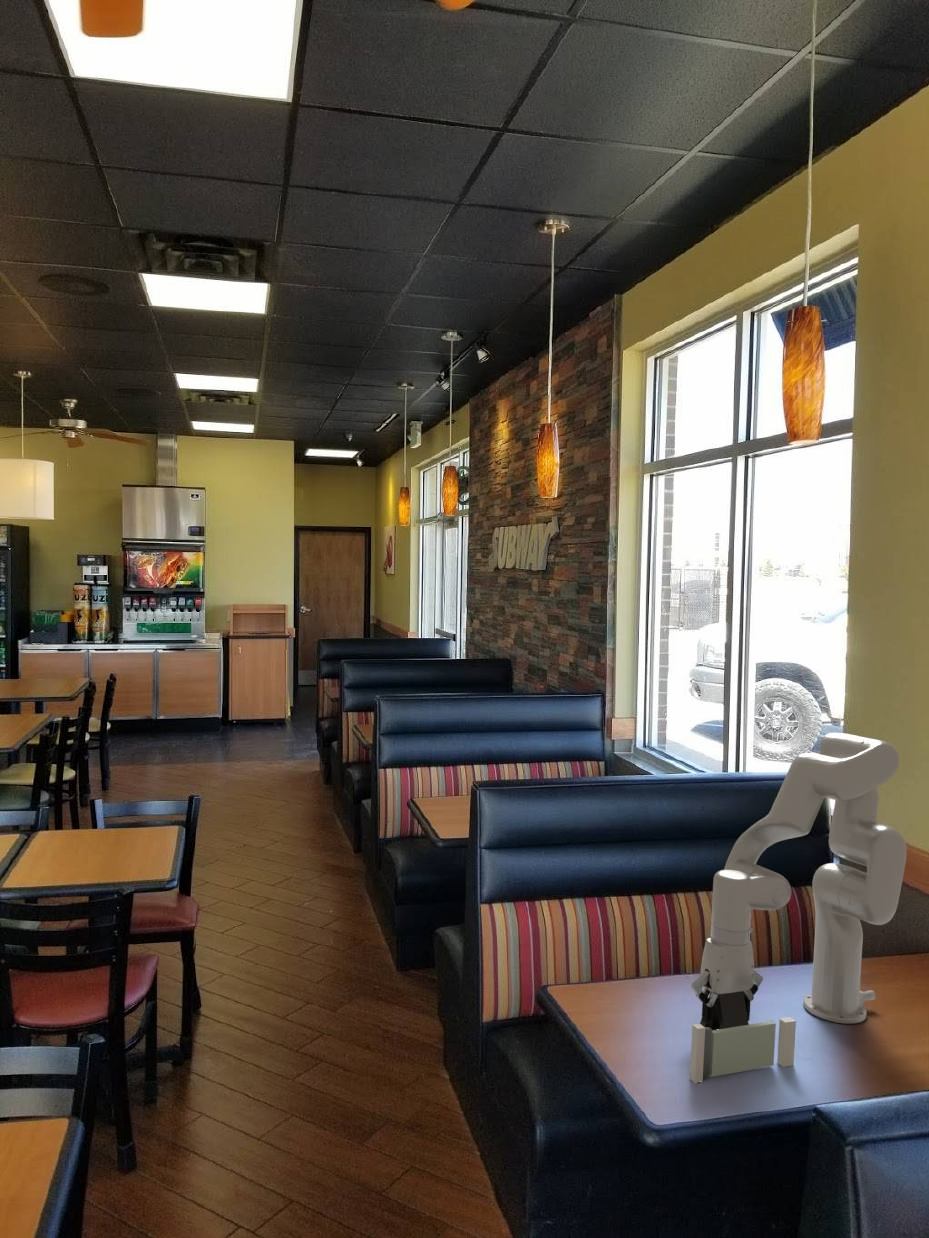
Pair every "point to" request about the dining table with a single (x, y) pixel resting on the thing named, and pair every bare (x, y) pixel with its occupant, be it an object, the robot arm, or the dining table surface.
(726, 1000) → the phone stand
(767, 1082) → the dining table surface
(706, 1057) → the door
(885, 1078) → the dining table surface
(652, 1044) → the dining table surface
